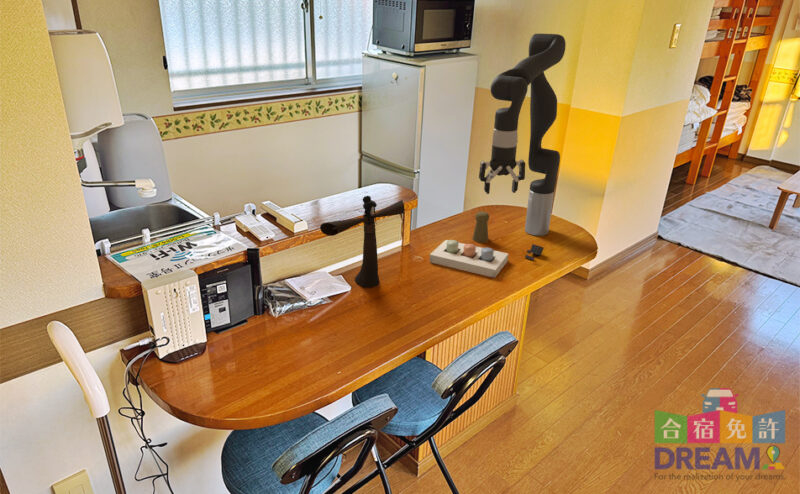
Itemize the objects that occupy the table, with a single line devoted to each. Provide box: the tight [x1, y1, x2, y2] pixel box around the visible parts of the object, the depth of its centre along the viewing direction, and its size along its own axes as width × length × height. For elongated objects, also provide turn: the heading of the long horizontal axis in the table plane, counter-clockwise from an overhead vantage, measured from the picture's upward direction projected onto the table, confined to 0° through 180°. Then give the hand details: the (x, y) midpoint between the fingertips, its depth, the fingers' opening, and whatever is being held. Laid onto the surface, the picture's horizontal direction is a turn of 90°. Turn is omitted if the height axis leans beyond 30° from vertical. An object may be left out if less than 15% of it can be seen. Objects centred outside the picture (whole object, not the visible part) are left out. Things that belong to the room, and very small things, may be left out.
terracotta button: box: [462, 243, 477, 258], centre depth 192 cm, size 4×4×4 cm
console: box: [429, 239, 509, 279], centre depth 193 cm, size 14×24×3 cm, turn 62°
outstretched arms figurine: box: [319, 195, 405, 288], centre depth 173 cm, size 32×10×30 cm, turn 130°
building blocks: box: [524, 243, 545, 261], centre depth 196 cm, size 3×6×8 cm
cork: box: [472, 210, 490, 243], centre depth 208 cm, size 6×6×11 cm
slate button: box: [480, 247, 495, 262], centre depth 189 cm, size 4×4×4 cm
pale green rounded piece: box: [445, 239, 459, 254], centre depth 194 cm, size 4×4×4 cm
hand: (500, 192), depth 176 cm, fingers open, 8 cm apart
